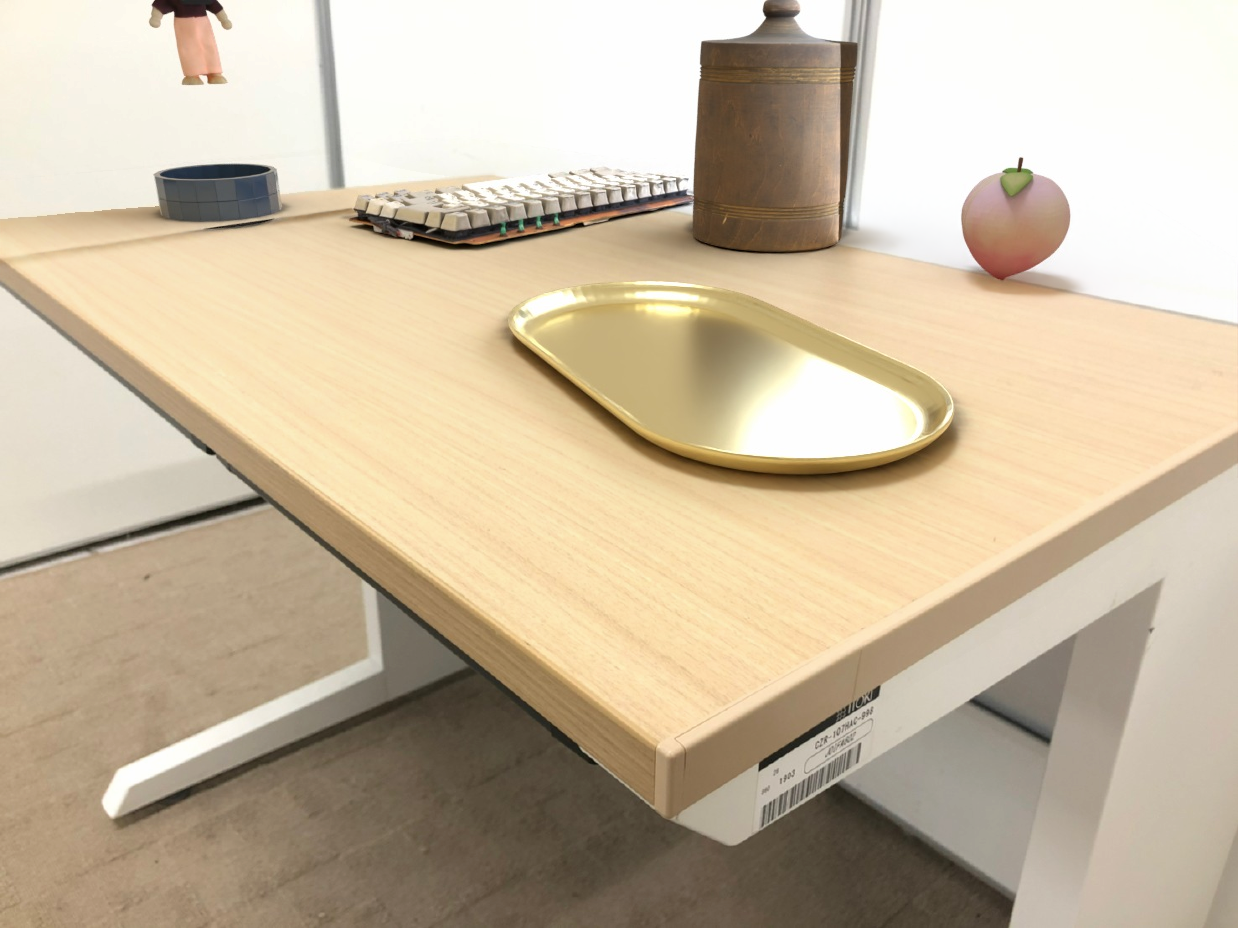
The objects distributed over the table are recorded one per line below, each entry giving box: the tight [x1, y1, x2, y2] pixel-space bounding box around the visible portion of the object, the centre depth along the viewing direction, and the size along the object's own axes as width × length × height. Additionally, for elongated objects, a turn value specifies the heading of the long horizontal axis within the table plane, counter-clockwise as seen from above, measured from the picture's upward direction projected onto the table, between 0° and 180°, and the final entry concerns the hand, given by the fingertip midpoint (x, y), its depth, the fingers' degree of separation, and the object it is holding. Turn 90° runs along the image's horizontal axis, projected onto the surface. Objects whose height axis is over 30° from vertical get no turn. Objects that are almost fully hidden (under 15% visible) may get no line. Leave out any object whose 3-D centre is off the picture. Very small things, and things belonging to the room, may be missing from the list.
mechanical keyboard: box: [348, 166, 694, 246], centre depth 110 cm, size 38×19×3 cm, turn 139°
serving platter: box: [507, 280, 955, 475], centre depth 62 cm, size 19×35×2 cm, turn 25°
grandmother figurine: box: [148, 0, 233, 86], centre depth 99 cm, size 8×4×13 cm, turn 134°
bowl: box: [153, 162, 283, 230], centre depth 107 cm, size 12×12×5 cm
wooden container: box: [691, 0, 859, 253], centre depth 95 cm, size 15×15×22 cm
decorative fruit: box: [960, 156, 1071, 281], centre depth 82 cm, size 9×8×10 cm
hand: (187, 2), depth 98 cm, fingers closed on grandmother figurine, 3 cm apart
